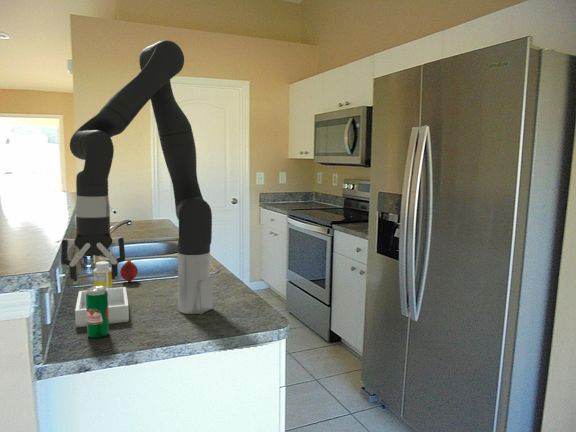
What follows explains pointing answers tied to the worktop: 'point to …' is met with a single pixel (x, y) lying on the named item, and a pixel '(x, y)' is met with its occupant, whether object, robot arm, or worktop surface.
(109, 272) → the supplement bottle
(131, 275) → the onion
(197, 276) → the robot arm
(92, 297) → the soda can
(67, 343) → the worktop surface
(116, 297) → the tote
